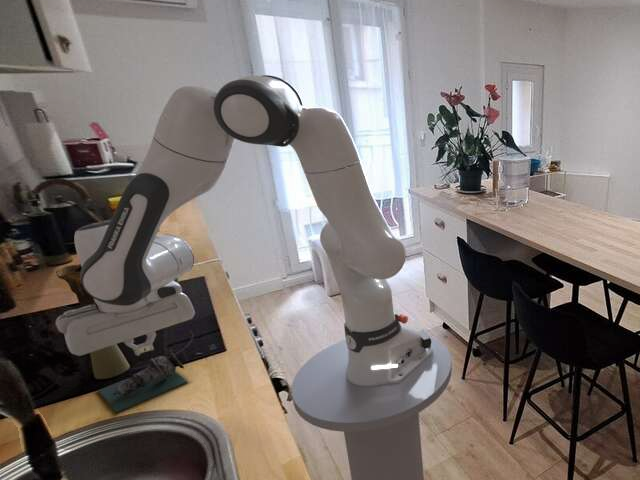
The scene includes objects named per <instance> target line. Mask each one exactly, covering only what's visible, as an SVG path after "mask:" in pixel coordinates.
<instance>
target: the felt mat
mask: <svg viewBox="0 0 640 480" xmlns="http://www.w3.org/2000/svg"><path fill="white" fill-rule="evenodd" d="M129 378H130V377H127V378H125V379H123V380H120V381H118V382H115V383H113V384H110V385H107V386H105V387H102V388H100V389H97V392H98V393H99V394H100V395H101V397H102V398H103V400H105V401H106V402H107V404H109V406H110V408H112V410H114V412H115V413H116V414H119V413H122V412H124V411H126V410H128V409H131V408H133V407H135V406H138V405H140V404H142V403H144V402H146V401H149V400H152V399H153V398H156V397H158V396H160V395H163V394H165V393H168V392H170V391H172V390H175V389H177V388H179V387H180V386H181V387H182V386H184V385H187V384H188V383H189V382H188V380H187V379H185V378H184V377H183V376H182V375H181V374H179V373H178V372H177V371H176V370H175V373H174V374H173V375H172V376H170V377H169V378H168V380H167V379H165V378H158V379H155V380H153V381H151V382H149V383H148V384H146V385H145V386H144V387H140V388H138V389H136V390H134V391H133V392H131V393H129V394H127V395H120V394H116V395H112V394H113V393H115V392H116V386H117V385H118V384H119V383H121V382H123V381H125V380H127V379H129Z"/></svg>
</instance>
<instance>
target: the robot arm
mask: <svg viewBox="0 0 640 480" xmlns="http://www.w3.org/2000/svg"><path fill="white" fill-rule="evenodd" d="M236 140H238V141H240V142H242V143H246V144H252V145H260V146H273V147H281V148H285V147H288V146H290V147H291V148H292V149H293V151H294V152H295V153H296V155H297V158H298V160H299V163H300V165H301V168H302V171H303V174H304V175H305V178H306V180H307V183H308V186H309V188H310V191H311V194H312V196H313V199H314V201H315V204H316V206H317V208H318V209H319V211H320V212H321V213H322V214H323V216H324V217H325V219H326V220H327V222H326V223H325V224H324V225H323V227H322V229H321V231H320V236H319V241H320V245H321V246H322V248H323V250H324V252H325V254H326V256H327V258H328V261H329V264H330V267H331V271H332V273H333V276H334V279H335V281H336V284H337V287H338V289H339V294H340V296H341V301H342V309H343V315H344V321H345V322H344V325H343V327H344V335H345V339H346V342H347V346H348V365H347V370H346V378H347V380H348V381H349V382H351V383H352V384H355V385H358V386H377V385H382V384H398V383H401V382H402V381H403V380H404V379H405V378H407V377H408V376H409V375H410V374H411V373H412V372H413V371H414V370H415V369H417V368H418V367H419V366H420V365H421V364H422V363H423V362H424V361H425V360H426V359H428V358H429V357H430V356H431V355H432V354H433V349H432V347H431V339H430V337H431V336H430V335H429V334H428V333H427V332H426V331H425V329H421V330H416V329H415V328H412V327H410V326H407V325H405V324H407V323H408V321H409V317H408V316H407V315H404V314H403V313H401V314H398V313H397V312H395V311H394V305H393V303H394V302H393V293H392V287H391V286H390V284H389V283H388V281H387V280H388V279H391V278H393V277H395V276H396V275H397V274H399V273H400V272H401V270H402V269H403V267H404V265H405V262H406V257H407V253H406V252H407V251H406V248H405V246H404V244H403V242H401V240H400V239H399V238H398V237H397V236H396V234H395V233H394V232H393V230H392V228H391V227H390V225H389V223H388V221H387V219H386V218H385V215H384V214H383V212H382V210H381V209H380V207H379V205H378V203H377V201H376V199H375V197H374V195H373V192H372V190H371V187H370V184H369V182H368V178H367V176H366V171H365V169H364V166H363V163H362V160H361V157H360V154H359V151H358V148H357V146H356V143H355V141H354V138H353V137H352V135H351V132H350V131H349V128H348V125H346V122H345V121H344V119H343V118H342V116H341V115H340V114H339V112H336V111H335V110H333V109H330V108H327V107H319V106H318V107H306V106H304V103H303V100H302V97H301V95H300V93H299V92H298V90H297V89H296V88H295V87H294V85H292V84H291V83H289V81H286V80H285V79H283V78H280V77H278V76H273V75H270V74H269V75H268V74H267V75H247V76H243V77H240V78H238V79H235V80H232V81H229V82H228V83H227V82H226V83H225V84H224V85H223V86H222V87H221V88H220V89H219V90H218V92H216V91H213V90H211V89H209V88H204V87H201V86H195V85H194V86H189V85H188V86H187V85H186V86H182V87H180V88H177V89H176V90H174V91H173V93H172V94H171V96H170V97H169V99H168V100H167V102H166V103H165V106H164V107H163V110H162V112H161V114H160V116H159V118H158V121H157V124H156V126H155V129H154V133H153V137H152V140H151V143H150V146H149V148H148V151H147V153H146V155H145V157H144V159H143V161H142V163H141V165H140V166H139V168H138V170H137V171H136V173H135V174H134V176H133V177H132V178H131V180H130V182H129V183H128V184H127V186H126V188H125V189H124V191H123V193H122V195H121V197H120V199H119V200H118V203H117V205H116V207H115V209H114V212H113V213H112V217H111V219H106V220H101V221H98V222H93V223H90V224H86V225H83V226H81V227H79V228H77V229H76V230H75V232H74V238H73V239H74V240H73V241H74V247H75V251H76V255H77V258H78V262H79V264H81V266H82V268H81V274H80V277H81V283H82V286H83V288H84V290H85V291H86V292H87V293H88V294H89V295H90V296H91V297H93V298H94V301H95V304H91V305H88V306H84V307H81V306H80V307H79V308H75V309H70V310H66V311H64V312H63V314H60V315H59V316H58V317H57V318H56V319H55V322H54V324H55V327H56V329H57V330H58V332H59V333H61V334H63V336H64V340H65V345H66V347H67V349H68V352H69V353H71V354H72V355H76V356H77V357H80V356H85V355H87V354H90V353H91V352H94V351H97V350H100V349H103V348H106V347H109V346H112V345H115V344H117V345H118V344H121V343H123V344H124V345H125V346H127V347H128V348H130V349H132V350H133V353H134V355H135V356H141V355H144V354H147V353H149V352H152V351H155V347H154V345H153V344H154V342H155V339H156V337H157V333H156V331H159V330H163V329H165V328H166V329H167V328H169V327H172V326H175V325H178V324H180V323H183V322H187V321H189V320H192V319H193V318H194V317H195V315H196V312H195V311H196V310H195V309H194V305H193V303H192V301H191V299H190V298H189V297H188V295H186V294H185V293H183V288H182V286H181V284H180V283H179V284H180V285H179V284H178V283H176V282H175V281H173V280H175V279H177V278H178V279H180V277H183V276H184V275H186V274H187V273H189V272H190V271H191V270H193V268H194V264H195V256H194V252H193V250H192V248H191V247H190V245H189V244H188V243H187V242H186V241H185V240H183V239H181V238H180V237H178V236H175V235H172V234H168V233H167V234H163V233H158V232H159V230H160V228H161V226H162V224H163V223H164V222H165V220H166V219H167V218H169V216H171V215H172V214H173V213H174V212H175V211H177V210H178V209H180V208H181V207H183V206H184V205H186V204H187V203H189V202H191V201H193V200H195V199H196V198H198V197H200V196H202V195H205V194H206V193H209V191H211V190H212V189H214V187H215V186H216V185H217V184H218V183H219V181H220V179H221V178H222V176H223V174H224V172H225V171H226V168H227V165H228V162H229V159H230V156H231V154H232V149H233V147H234V144H235V143H236ZM141 336H146V339H145V341H144V342H142V343H140V344H134V343H135V339H136V338H138V337H141ZM429 336H430V337H429Z"/></svg>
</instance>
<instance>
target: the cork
mask: <svg viewBox="0 0 640 480" xmlns="http://www.w3.org/2000/svg"><path fill="white" fill-rule="evenodd" d="M89 354H90V361H91V366H92V367H91V368H92V372H93V378H94V379H96V380H107V379H110V378H114V377H117V376H120V375H121V374H124V373H125V372H127V371H128V370H129V369H130V367H131V365H130V363H129V362H128V360H127V358H126V357H125V355H124V354H123V352H122V350H121V349H120V347H119V346H118V344H115V345H112V346H109V347H106V348H103V349H100V350H97V351H94V352H91V353H89Z"/></svg>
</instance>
